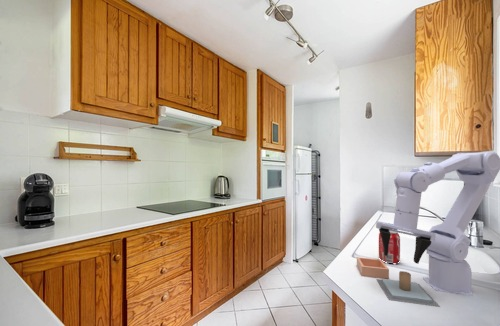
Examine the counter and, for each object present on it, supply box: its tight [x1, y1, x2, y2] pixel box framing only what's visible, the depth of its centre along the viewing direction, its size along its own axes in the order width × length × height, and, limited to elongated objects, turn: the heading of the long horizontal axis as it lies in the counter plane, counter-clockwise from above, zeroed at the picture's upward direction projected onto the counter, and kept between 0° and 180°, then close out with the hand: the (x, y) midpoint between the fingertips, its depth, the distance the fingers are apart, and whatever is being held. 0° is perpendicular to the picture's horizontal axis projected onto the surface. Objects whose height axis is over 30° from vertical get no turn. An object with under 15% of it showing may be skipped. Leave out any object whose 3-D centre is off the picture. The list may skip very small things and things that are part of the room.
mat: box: [375, 278, 441, 308], centre depth 67 cm, size 12×12×1 cm
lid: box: [381, 270, 432, 303], centre depth 67 cm, size 10×10×5 cm
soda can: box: [378, 231, 401, 264], centre depth 89 cm, size 7×7×12 cm
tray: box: [356, 256, 390, 280], centre depth 80 cm, size 8×8×4 cm
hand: (400, 258), depth 68 cm, fingers open, 7 cm apart
